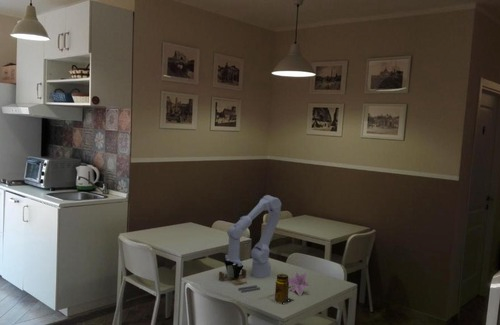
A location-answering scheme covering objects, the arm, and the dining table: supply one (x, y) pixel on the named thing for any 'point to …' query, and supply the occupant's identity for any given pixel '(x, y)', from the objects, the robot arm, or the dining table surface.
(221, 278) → the rack
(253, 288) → the stand
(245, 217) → the robot arm
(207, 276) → the dining table surface
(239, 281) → the offcut upper
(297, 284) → the lily
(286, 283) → the condiment
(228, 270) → the sheet
